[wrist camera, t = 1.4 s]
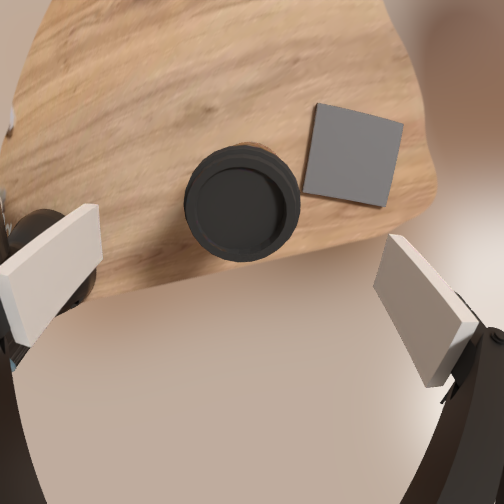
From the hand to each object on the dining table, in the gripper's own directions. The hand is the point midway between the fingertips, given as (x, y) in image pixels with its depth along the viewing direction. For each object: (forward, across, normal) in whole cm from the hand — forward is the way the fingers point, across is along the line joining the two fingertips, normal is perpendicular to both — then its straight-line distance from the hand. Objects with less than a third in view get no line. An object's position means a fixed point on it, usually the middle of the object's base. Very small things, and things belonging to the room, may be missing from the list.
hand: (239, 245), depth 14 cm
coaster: (+22, +11, +2) cm, 25 cm away
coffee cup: (+23, 0, -1) cm, 23 cm away
